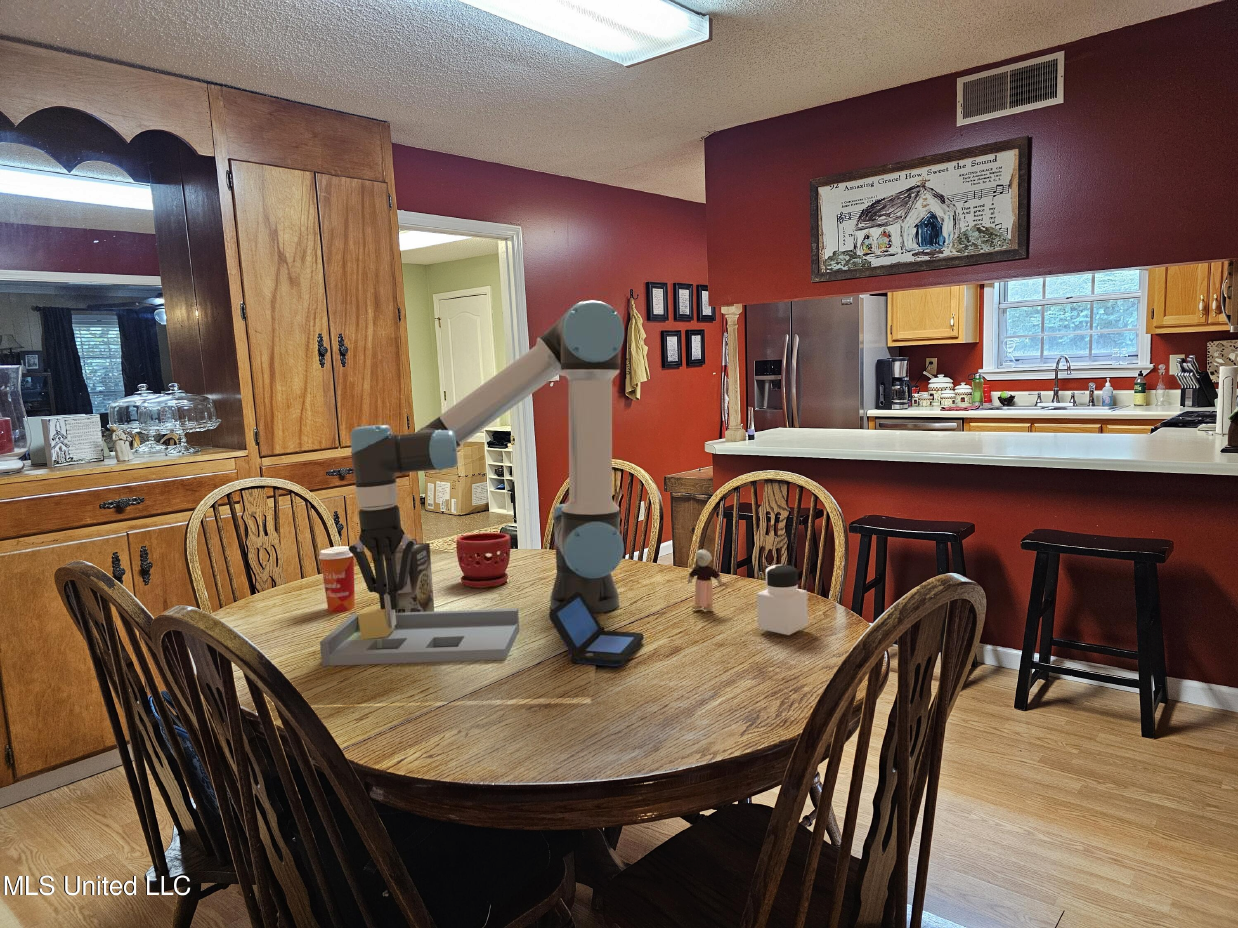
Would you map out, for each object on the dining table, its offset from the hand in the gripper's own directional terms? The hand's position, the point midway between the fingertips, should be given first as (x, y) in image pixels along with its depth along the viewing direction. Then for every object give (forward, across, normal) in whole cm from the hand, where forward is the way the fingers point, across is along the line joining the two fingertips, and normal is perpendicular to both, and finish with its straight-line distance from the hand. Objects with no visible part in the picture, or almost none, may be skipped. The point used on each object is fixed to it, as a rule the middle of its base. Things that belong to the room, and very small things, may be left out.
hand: (391, 625), depth 156 cm
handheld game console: (+5, -40, +8) cm, 41 cm away
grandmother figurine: (+6, -62, -15) cm, 64 cm away
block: (+2, +3, 0) cm, 3 cm away
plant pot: (+4, -10, -43) cm, 44 cm away
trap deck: (+4, -8, +4) cm, 10 cm away
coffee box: (+4, 0, -14) cm, 14 cm away
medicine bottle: (+6, -76, -1) cm, 76 cm away
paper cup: (+3, +19, -24) cm, 31 cm away
